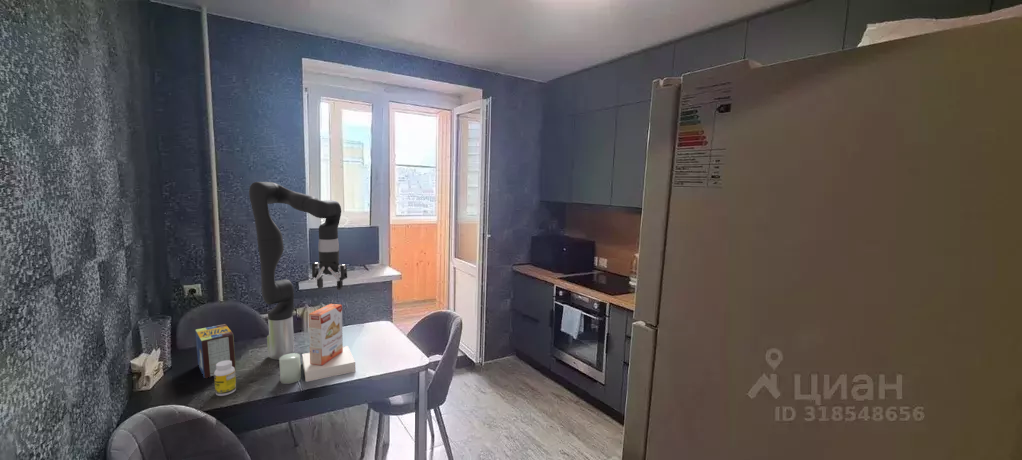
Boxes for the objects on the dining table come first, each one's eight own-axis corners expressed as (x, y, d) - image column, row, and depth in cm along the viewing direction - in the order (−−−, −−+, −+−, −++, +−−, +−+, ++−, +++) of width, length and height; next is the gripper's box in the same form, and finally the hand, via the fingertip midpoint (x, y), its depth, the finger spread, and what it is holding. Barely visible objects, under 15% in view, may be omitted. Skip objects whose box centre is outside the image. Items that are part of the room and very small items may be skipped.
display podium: (305, 381, 155) (305, 371, 155) (302, 363, 171) (302, 354, 170) (355, 371, 164) (355, 362, 164) (348, 354, 180) (347, 345, 179)
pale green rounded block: (276, 382, 154) (274, 360, 153) (289, 374, 161) (287, 352, 160) (292, 384, 153) (291, 361, 152) (305, 375, 160) (304, 354, 159)
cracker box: (323, 366, 160) (321, 314, 157) (309, 364, 161) (307, 313, 158) (344, 351, 173) (342, 304, 171) (331, 350, 174) (329, 302, 172)
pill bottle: (211, 394, 145) (209, 364, 144) (228, 386, 151) (226, 357, 150) (223, 398, 143) (220, 368, 142) (240, 389, 149) (238, 360, 147)
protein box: (228, 358, 174) (225, 323, 172) (236, 370, 163) (233, 333, 161) (197, 365, 167) (194, 329, 165) (203, 379, 156) (200, 340, 154)
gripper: (306, 250, 162) (308, 289, 164) (339, 252, 160) (340, 292, 162) (318, 247, 170) (320, 285, 172) (350, 249, 167) (351, 287, 169)
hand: (330, 288), depth 167 cm, fingers open, 8 cm apart
